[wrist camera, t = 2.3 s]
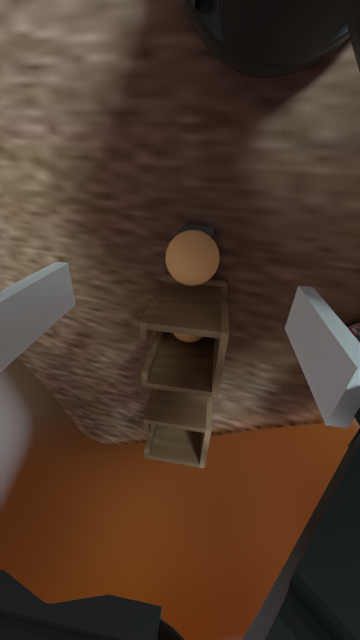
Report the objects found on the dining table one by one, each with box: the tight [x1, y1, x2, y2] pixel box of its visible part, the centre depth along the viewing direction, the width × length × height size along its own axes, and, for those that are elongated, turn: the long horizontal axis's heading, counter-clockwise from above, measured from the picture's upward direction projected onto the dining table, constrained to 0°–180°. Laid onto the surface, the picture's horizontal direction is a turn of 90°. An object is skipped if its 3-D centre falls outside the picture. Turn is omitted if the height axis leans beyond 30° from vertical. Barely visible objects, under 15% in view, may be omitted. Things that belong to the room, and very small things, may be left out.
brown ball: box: [166, 230, 219, 286], centre depth 20 cm, size 4×4×4 cm
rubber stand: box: [179, 225, 215, 239], centre depth 24 cm, size 3×3×4 cm
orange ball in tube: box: [173, 333, 203, 342], centre depth 27 cm, size 4×4×4 cm
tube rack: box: [139, 274, 230, 468], centre depth 28 cm, size 20×7×10 cm, turn 177°
